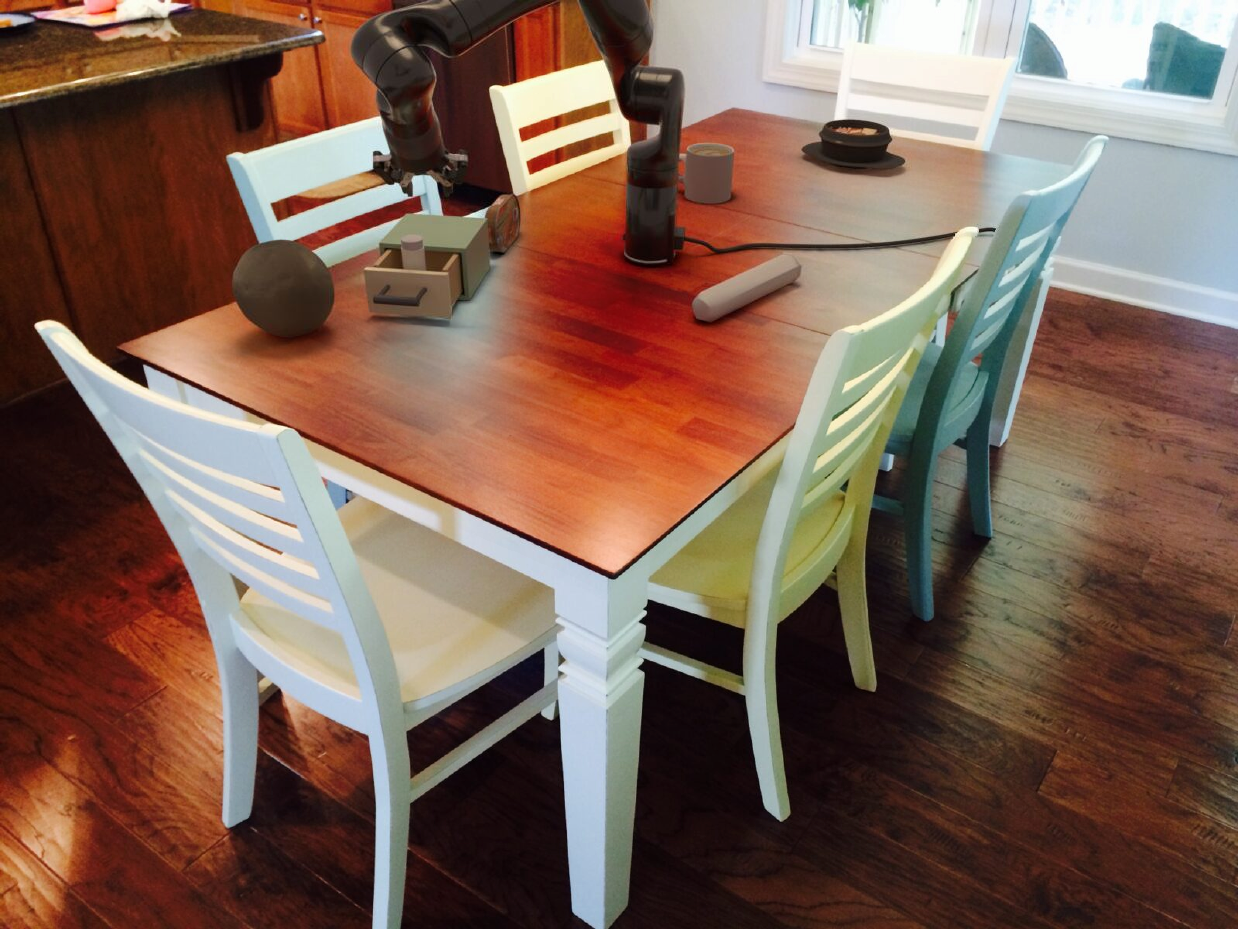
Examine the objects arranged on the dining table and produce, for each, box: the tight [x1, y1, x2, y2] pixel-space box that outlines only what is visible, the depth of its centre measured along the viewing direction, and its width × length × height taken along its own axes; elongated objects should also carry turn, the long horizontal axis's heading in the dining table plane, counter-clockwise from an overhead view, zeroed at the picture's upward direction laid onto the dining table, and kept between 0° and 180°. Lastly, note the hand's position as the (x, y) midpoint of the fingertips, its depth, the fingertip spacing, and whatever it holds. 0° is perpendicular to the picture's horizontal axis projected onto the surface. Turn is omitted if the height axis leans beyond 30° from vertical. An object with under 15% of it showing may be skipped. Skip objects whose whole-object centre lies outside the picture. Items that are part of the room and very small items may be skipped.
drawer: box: [363, 248, 464, 319], centre depth 159 cm, size 19×13×7 cm
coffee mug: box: [678, 142, 735, 205], centre depth 211 cm, size 13×10×10 cm
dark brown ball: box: [231, 239, 336, 338], centre depth 149 cm, size 14×14×15 cm
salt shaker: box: [401, 235, 426, 271], centre depth 158 cm, size 4×4×10 cm
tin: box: [484, 193, 522, 254], centre depth 185 cm, size 15×3×8 cm, turn 168°
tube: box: [691, 251, 803, 323], centre depth 165 cm, size 5×5×25 cm
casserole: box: [800, 118, 906, 171], centre depth 233 cm, size 25×19×8 cm
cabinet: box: [378, 213, 491, 301], centre depth 170 cm, size 15×15×9 cm
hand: (428, 190), depth 152 cm, fingers open, 5 cm apart
